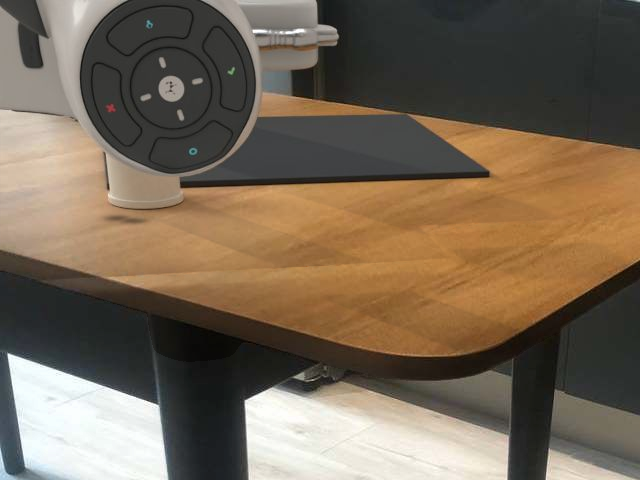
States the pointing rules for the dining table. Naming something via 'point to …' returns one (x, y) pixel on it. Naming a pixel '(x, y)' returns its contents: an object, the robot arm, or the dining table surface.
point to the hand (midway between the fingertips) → (136, 15)
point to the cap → (141, 188)
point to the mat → (337, 152)
